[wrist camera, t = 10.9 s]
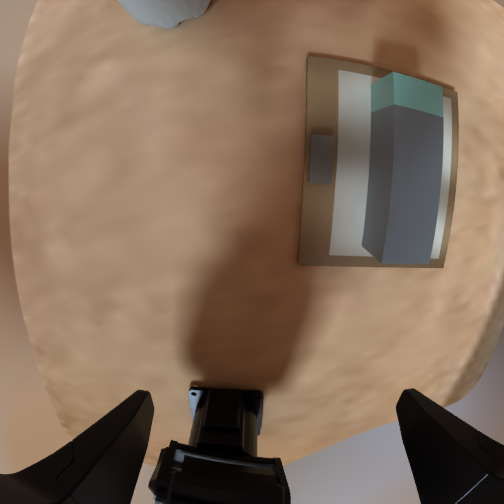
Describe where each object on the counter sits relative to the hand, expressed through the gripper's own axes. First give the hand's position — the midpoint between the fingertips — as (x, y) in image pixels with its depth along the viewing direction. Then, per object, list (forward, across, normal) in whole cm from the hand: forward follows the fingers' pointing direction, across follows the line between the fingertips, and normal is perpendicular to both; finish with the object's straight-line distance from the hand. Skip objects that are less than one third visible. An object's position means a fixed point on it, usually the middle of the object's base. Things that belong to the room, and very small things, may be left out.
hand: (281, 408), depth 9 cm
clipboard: (+12, -8, -8) cm, 16 cm away
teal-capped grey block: (+11, -8, -8) cm, 16 cm away
